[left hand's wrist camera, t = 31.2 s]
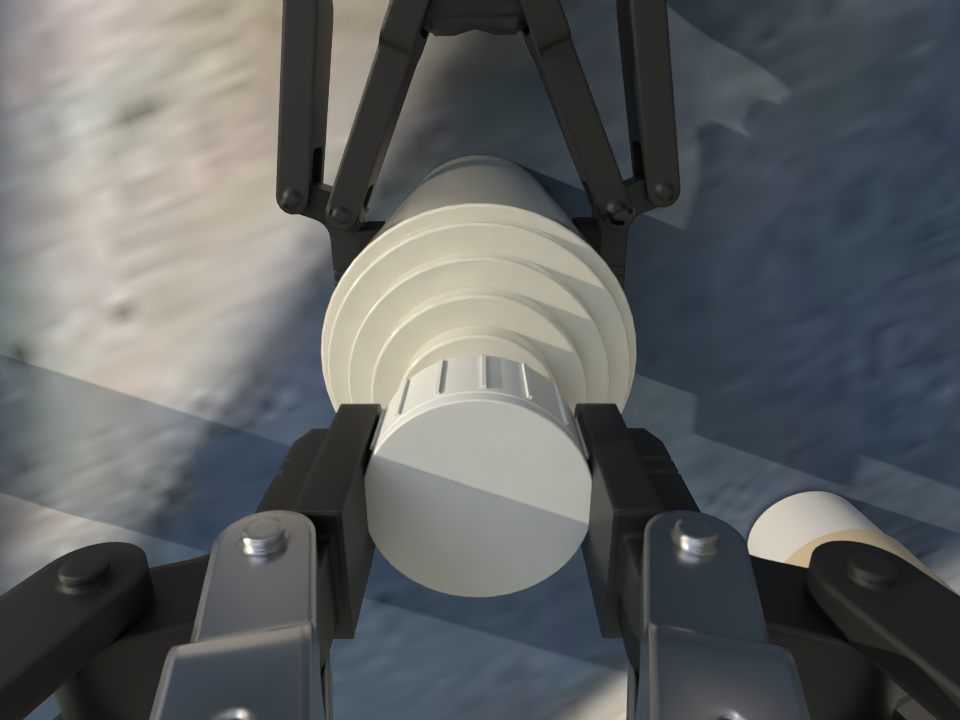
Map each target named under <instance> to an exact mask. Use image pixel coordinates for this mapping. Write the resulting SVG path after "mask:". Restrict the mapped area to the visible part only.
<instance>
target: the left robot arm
mask: <svg viewBox="0 0 960 720" xmlns="http://www.w3.org/2000/svg"><path fill="white" fill-rule="evenodd" d="M381 412H382V407H381V405H380V404H341V405H340V407H339V409H338V411H337V413H336V415H335V417H334V419H333V422H332V424H331V426H330V428H329V429H312V430H310V431H309V432H307V433H306V434H305V435H303V436H302V437H301V438H299V439H298V440H297V441H295V442H294V443H293V445H292V447H291V449H290V451H289V452H288V454H287V456H286V458H285V461H283V463H282V465H281V467H280V469H279V470H278V475H276V476H275V478H274V479H273V481H272V483H271V485H270V487H269V488H268V490H267V492H266V494H265V496H264V497H263V499H262V501H261V503H260V505H259V506H258V508H257V510H256V512H255V514H252V515H249V516H247V517H244V518H242V519H240V520H238V521H236V522H234V523H233V524H231V525H229V526H228V527H227V528H226V529H224V530H223V531H222V532H221V533H220V534H219V535H218V537H217V538H216V540H215V541H214V544H213V547H212V551H211V553H209V554H207V555H204V556H201V557H198V558H194V559H190V560H186V561H181V562H176V563H172V564H167V565H162V566H157V567H153V568H149V566H148V561H147V558H146V554H145V553H144V551H143V550H142V549H141V548H139V547H138V546H135V545H133V544H129V543H124V542H107V543H100V544H95V545H91V546H87V547H84V548H81V549H77V550H75V551H73V552H70V553H68V554H66V555H64V556H62V557H60V558H58V559H56V560H54V561H53V562H51V563H49V564H48V565H46V566H45V567H43V568H42V569H40V570H39V571H37V572H36V573H34V574H33V575H31V576H30V577H28V578H27V579H26V580H24V581H23V582H21V583H20V584H18V585H17V586H15V587H14V588H12V589H11V590H9V591H8V592H6V593H5V594H3V595H2V596H0V720H23V719H24V718H25V717H26V716H27V715H28V714H30V713H31V712H32V711H33V710H34V709H35V708H37V707H38V706H39V705H40V704H41V703H42V702H43V701H45V700H46V699H47V698H48V697H49V696H50V695H52V694H53V693H54V694H55V697H56V700H57V703H58V706H59V709H60V712H61V713H60V714H59V715H58V716H57V717H56V718H54V719H53V720H334V716H333V683H332V669H331V661H330V652H329V651H330V648H331V644H332V640H333V639H354V634H355V630H356V626H357V622H358V618H359V613H360V609H361V605H362V601H363V597H364V592H365V588H366V584H367V580H368V575H369V571H370V567H371V563H372V559H373V554H374V550H375V546H376V545H375V544H374V542H373V540H372V538H371V536H370V534H369V531H368V520H367V507H366V494H365V481H364V475H365V471H366V468H367V465H368V462H369V459H370V455H371V452H372V450H370V449H369V448H370V445H371V442H372V439H373V436H374V433H375V430H376V427H377V424H378V421H379V418H380V415H381ZM576 417H577V420H578V423H579V426H580V429H581V433H582V436H583V439H584V442H585V445H586V449H587V452H588V455H589V457H588V460H587V462H588V465H589V468H590V471H591V475H592V487H591V500H590V513H589V526H588V532H587V534H586V536H585V538H584V541H583V542H582V544H581V547H582V552H583V556H584V560H585V565H586V569H587V573H588V578H589V582H590V586H591V591H592V595H593V599H594V604H595V608H596V613H597V617H598V621H599V626H600V630H601V634H602V638H623V641H624V645H625V649H626V652H627V656H628V659H629V669H628V683H627V716H626V720H907V719H906V718H904V717H903V716H902V715H901V714H900V713H899V712H898V711H897V710H896V709H895V705H896V702H897V699H898V696H899V693H900V691H901V689H903V690H904V691H905V692H906V693H907V694H908V695H910V696H911V697H912V698H913V699H914V700H915V701H917V702H918V703H919V704H920V705H921V706H922V707H923V708H925V709H926V710H927V711H928V712H929V713H930V714H932V715H933V716H934V717H935V718H936V719H937V720H960V596H958V595H957V594H955V593H954V592H952V591H951V590H949V589H948V588H946V587H945V586H943V585H942V584H940V583H939V582H937V581H936V580H934V579H933V578H931V577H930V576H929V575H927V574H926V573H924V572H923V571H921V570H920V569H918V568H917V567H915V566H914V565H912V564H911V563H909V562H908V561H906V560H904V559H903V558H901V557H899V556H897V555H895V554H893V553H891V552H889V551H887V550H884V549H882V548H879V547H876V546H873V545H870V544H865V543H861V542H855V541H844V540H839V541H830V542H826V543H823V544H821V545H819V546H818V547H816V548H815V549H814V551H813V552H812V555H811V558H810V563H809V567H808V568H806V567H801V566H796V565H791V564H787V563H782V562H777V561H772V560H768V559H764V558H760V557H756V556H753V555H750V554H749V551H748V547H747V544H746V541H745V540H744V538H743V537H742V535H741V534H740V533H739V532H738V531H737V530H736V529H734V528H733V527H732V526H731V525H729V524H727V523H726V522H724V521H722V520H720V519H718V518H716V517H713V516H711V515H708V514H704V513H701V512H700V510H699V508H698V506H697V505H696V503H695V501H694V499H693V497H692V495H691V494H690V492H689V490H688V488H687V486H686V484H685V483H684V481H683V479H682V477H681V475H680V474H678V470H677V468H676V466H675V464H674V462H673V461H671V457H670V455H669V453H668V451H667V450H666V448H665V446H664V444H663V442H662V441H660V440H659V439H658V438H656V437H655V436H654V435H652V434H651V433H650V432H648V431H647V430H646V429H644V428H627V427H626V425H625V422H624V420H623V418H622V416H621V414H620V412H619V409H618V407H617V405H616V404H615V403H577V404H576V406H575V412H574V418H576Z"/></svg>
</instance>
